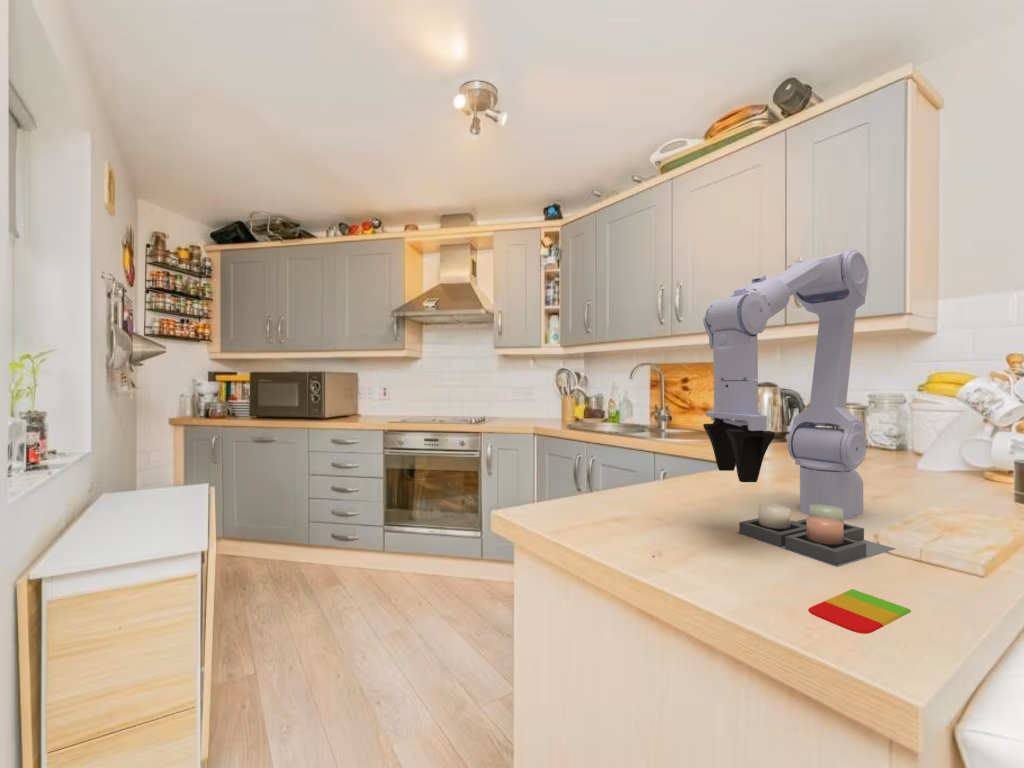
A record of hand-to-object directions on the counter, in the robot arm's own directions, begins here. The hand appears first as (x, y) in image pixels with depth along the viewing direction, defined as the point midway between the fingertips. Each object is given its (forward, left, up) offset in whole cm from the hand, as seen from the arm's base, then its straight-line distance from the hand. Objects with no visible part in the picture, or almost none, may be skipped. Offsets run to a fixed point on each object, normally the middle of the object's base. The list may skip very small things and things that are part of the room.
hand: (736, 475), depth 67 cm
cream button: (-5, +2, -7) cm, 9 cm away
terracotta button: (-5, +9, -7) cm, 13 cm away
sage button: (-11, +6, -7) cm, 15 cm away
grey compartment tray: (-8, +6, -10) cm, 14 cm away
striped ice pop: (+5, +20, -11) cm, 23 cm away
